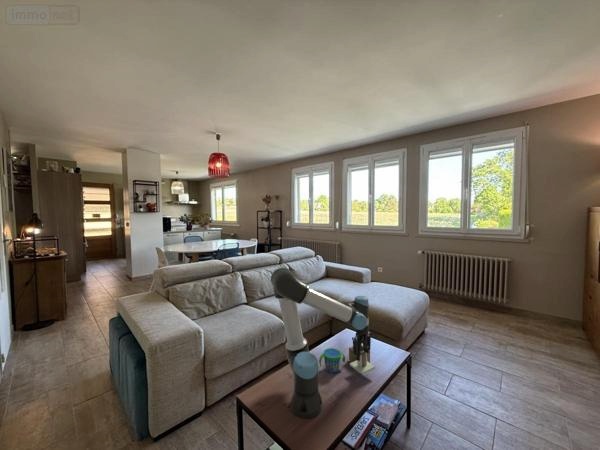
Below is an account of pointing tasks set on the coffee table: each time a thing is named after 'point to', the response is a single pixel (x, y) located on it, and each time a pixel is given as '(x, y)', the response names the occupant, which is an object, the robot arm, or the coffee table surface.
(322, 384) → the coffee table surface
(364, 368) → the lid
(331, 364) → the snack cup
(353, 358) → the box
